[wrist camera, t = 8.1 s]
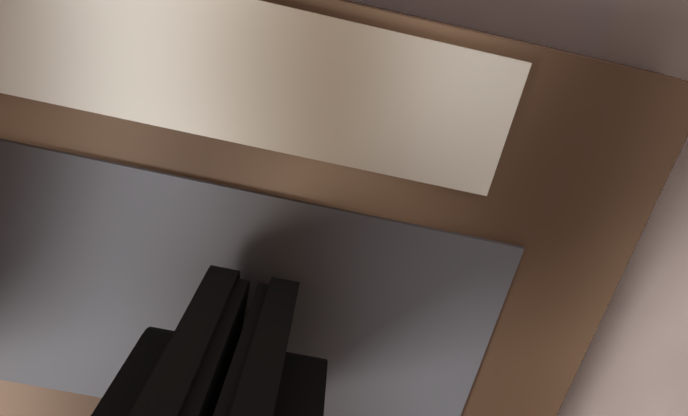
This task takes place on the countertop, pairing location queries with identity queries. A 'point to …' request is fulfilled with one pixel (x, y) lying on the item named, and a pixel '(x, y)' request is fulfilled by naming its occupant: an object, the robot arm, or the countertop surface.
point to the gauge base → (318, 194)
